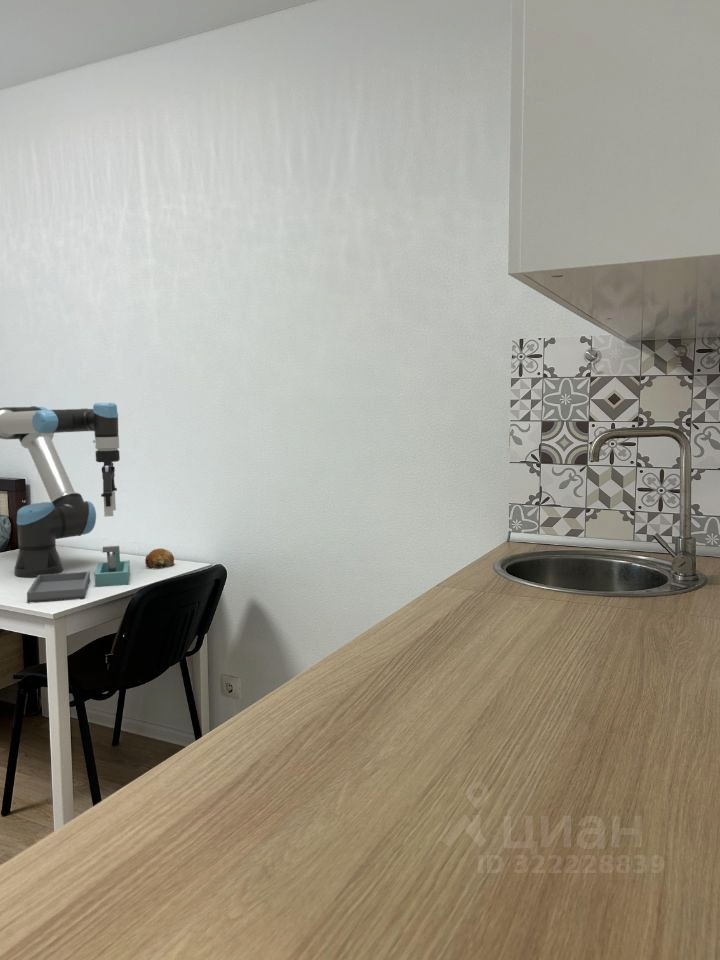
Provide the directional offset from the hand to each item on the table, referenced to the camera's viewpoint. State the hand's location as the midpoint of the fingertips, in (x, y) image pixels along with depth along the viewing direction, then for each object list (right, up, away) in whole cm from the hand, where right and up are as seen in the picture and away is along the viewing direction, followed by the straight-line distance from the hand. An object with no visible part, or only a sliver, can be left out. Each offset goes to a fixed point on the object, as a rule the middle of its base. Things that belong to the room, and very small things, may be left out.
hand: (110, 513), depth 257 cm
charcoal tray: (-9, -23, -20) cm, 32 cm away
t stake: (+4, -22, -9) cm, 24 cm away
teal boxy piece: (+2, -21, -5) cm, 22 cm away
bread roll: (+13, -20, +15) cm, 27 cm away
